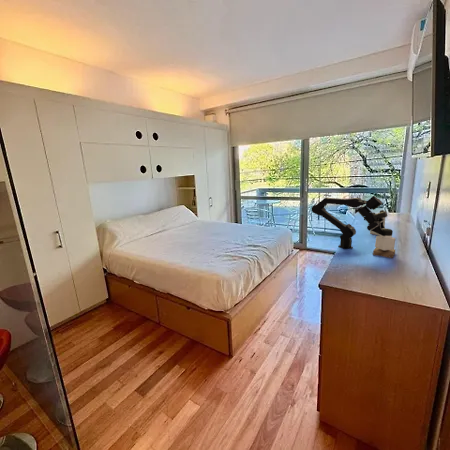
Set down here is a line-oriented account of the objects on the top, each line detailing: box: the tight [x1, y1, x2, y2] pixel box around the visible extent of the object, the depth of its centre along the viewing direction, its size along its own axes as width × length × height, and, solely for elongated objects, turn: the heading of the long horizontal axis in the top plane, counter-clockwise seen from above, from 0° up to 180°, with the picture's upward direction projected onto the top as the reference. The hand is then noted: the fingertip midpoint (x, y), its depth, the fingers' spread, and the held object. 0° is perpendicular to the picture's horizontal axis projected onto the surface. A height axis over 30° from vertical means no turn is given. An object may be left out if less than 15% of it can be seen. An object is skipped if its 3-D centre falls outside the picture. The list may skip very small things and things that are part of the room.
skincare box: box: [369, 217, 386, 236], centre depth 189 cm, size 8×6×15 cm
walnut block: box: [372, 247, 396, 259], centre depth 149 cm, size 10×10×3 cm
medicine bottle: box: [374, 227, 396, 250], centre depth 147 cm, size 7×7×12 cm
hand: (385, 234), depth 147 cm, fingers closed on medicine bottle, 6 cm apart
